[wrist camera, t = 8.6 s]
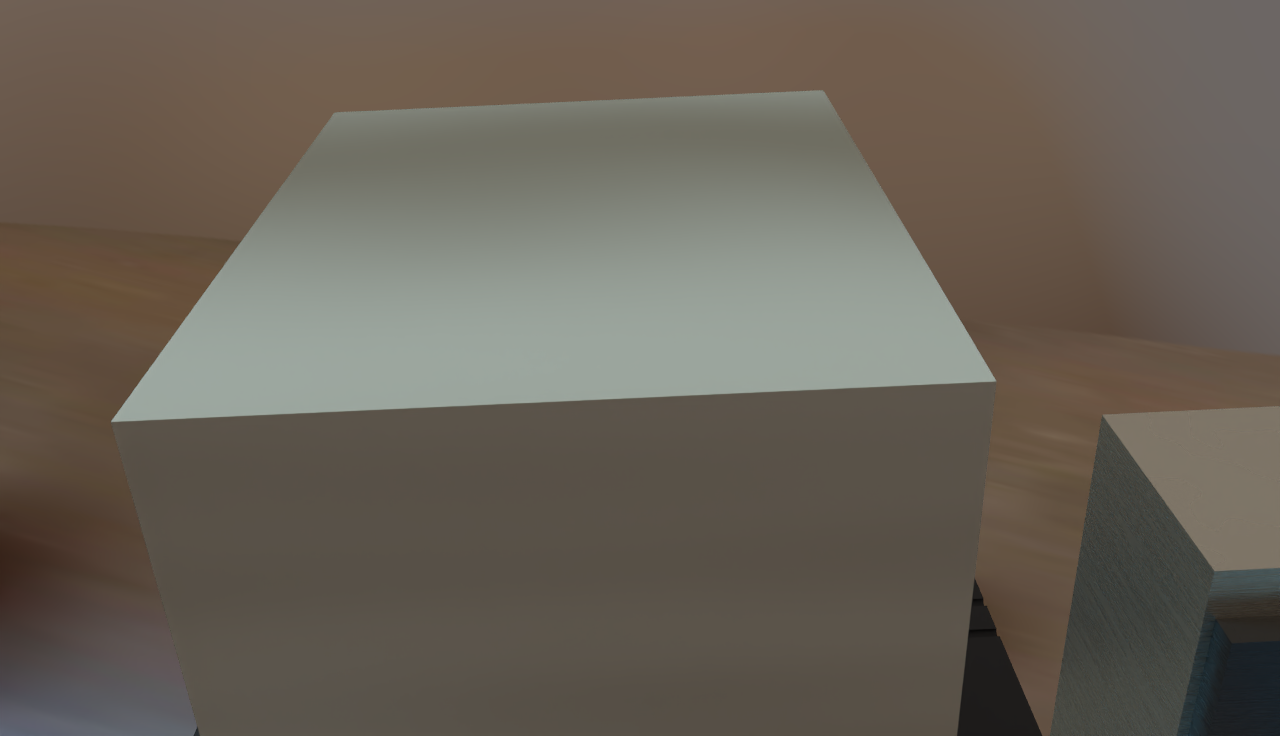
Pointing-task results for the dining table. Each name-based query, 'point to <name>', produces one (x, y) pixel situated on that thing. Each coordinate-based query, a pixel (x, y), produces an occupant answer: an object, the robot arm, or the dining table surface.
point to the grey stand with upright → (1177, 580)
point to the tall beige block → (569, 436)
